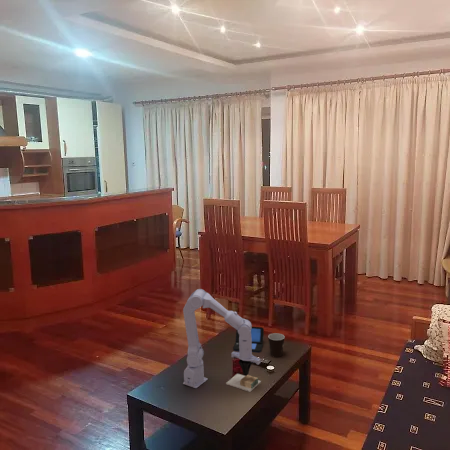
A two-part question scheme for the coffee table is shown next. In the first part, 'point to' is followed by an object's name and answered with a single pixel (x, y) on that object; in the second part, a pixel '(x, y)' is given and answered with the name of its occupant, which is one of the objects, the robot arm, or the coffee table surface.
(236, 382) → the grey mat
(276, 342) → the coffee mug
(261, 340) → the handheld game console
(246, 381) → the oak slab
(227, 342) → the coffee table surface
